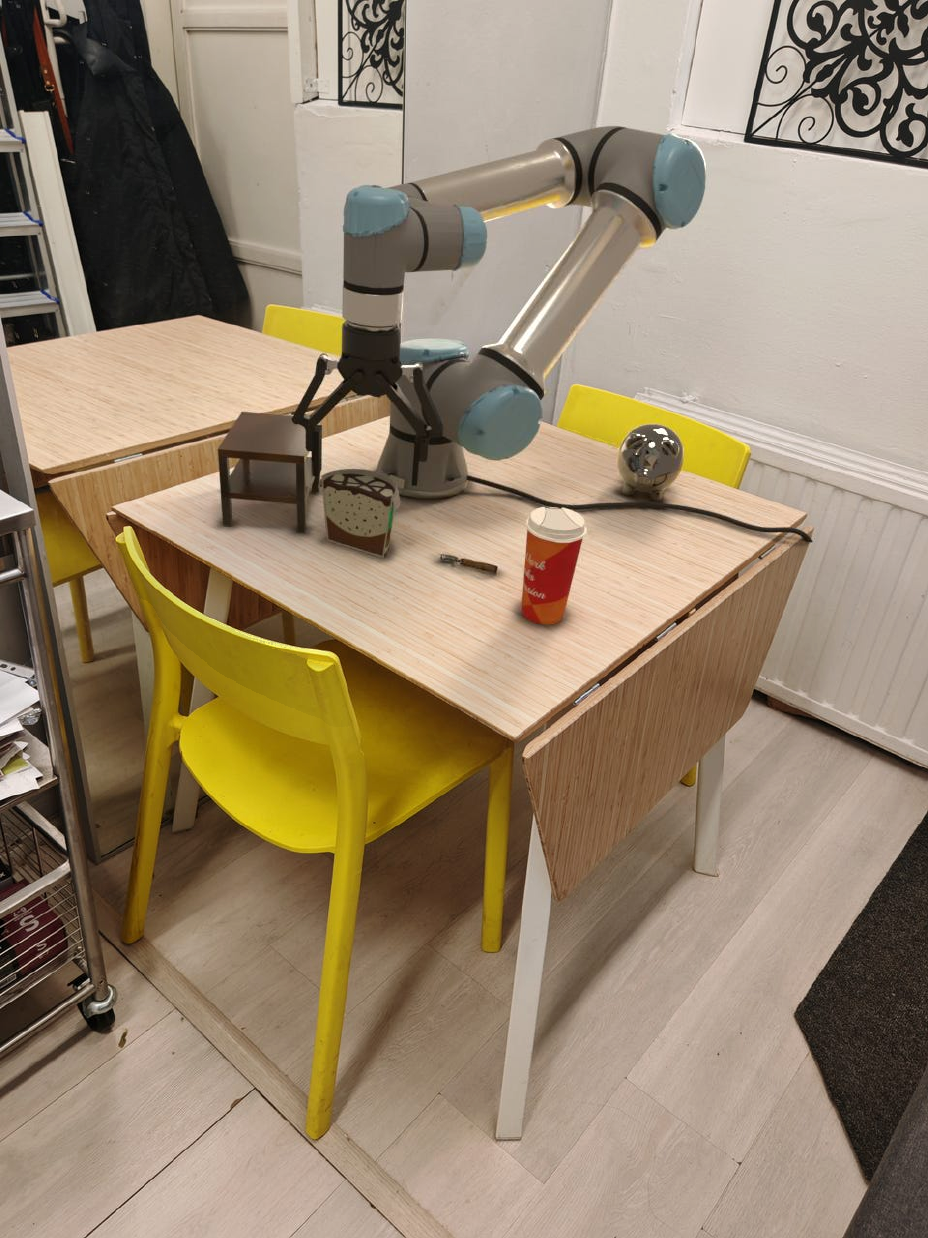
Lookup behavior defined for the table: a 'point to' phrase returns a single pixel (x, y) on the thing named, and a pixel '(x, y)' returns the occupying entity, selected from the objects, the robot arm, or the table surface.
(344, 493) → the food container
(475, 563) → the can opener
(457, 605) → the table surface
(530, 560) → the paper cup
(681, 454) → the piggy bank
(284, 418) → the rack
